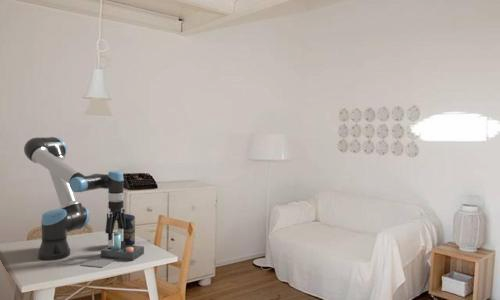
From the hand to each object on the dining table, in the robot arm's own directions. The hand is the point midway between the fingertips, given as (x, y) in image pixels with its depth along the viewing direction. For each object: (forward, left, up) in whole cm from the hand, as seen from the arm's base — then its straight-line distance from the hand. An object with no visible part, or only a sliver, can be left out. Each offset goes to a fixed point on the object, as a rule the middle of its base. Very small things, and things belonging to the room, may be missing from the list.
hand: (115, 243), depth 213 cm
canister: (-4, +18, -7) cm, 20 cm away
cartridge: (0, 0, -6) cm, 6 cm away
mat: (-2, -13, -6) cm, 15 cm away
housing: (+4, 0, -6) cm, 8 cm away
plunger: (+9, -2, -5) cm, 11 cm away
